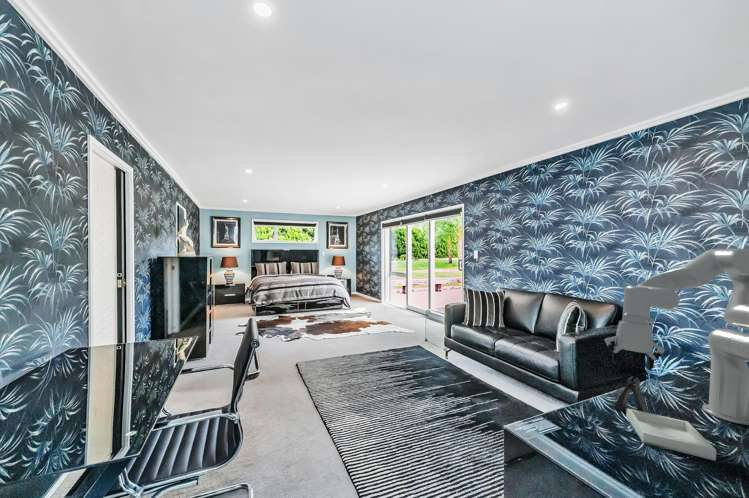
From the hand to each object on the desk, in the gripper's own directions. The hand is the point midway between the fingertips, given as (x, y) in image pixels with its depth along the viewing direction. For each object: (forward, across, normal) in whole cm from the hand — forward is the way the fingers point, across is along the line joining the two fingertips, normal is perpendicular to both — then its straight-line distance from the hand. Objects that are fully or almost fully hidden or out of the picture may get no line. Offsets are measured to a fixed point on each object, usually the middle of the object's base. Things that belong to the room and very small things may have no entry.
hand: (632, 366), depth 114 cm
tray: (+16, -6, +15) cm, 23 cm away
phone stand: (+17, -1, 0) cm, 17 cm away
